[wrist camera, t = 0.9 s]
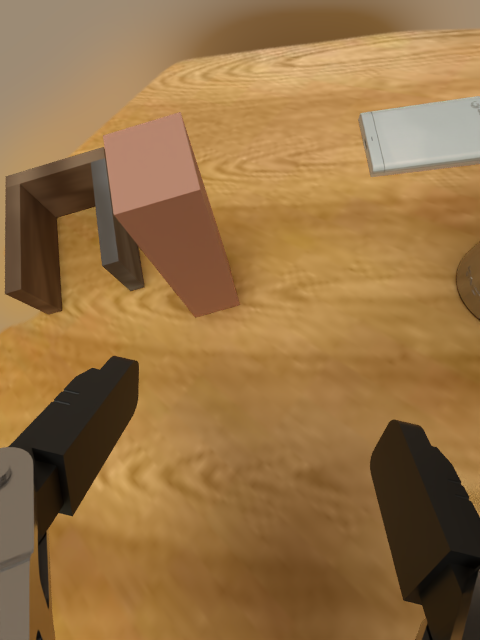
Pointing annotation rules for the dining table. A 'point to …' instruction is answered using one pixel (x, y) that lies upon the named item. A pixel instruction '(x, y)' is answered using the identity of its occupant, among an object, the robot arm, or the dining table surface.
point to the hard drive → (422, 136)
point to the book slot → (41, 227)
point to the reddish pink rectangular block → (170, 211)
